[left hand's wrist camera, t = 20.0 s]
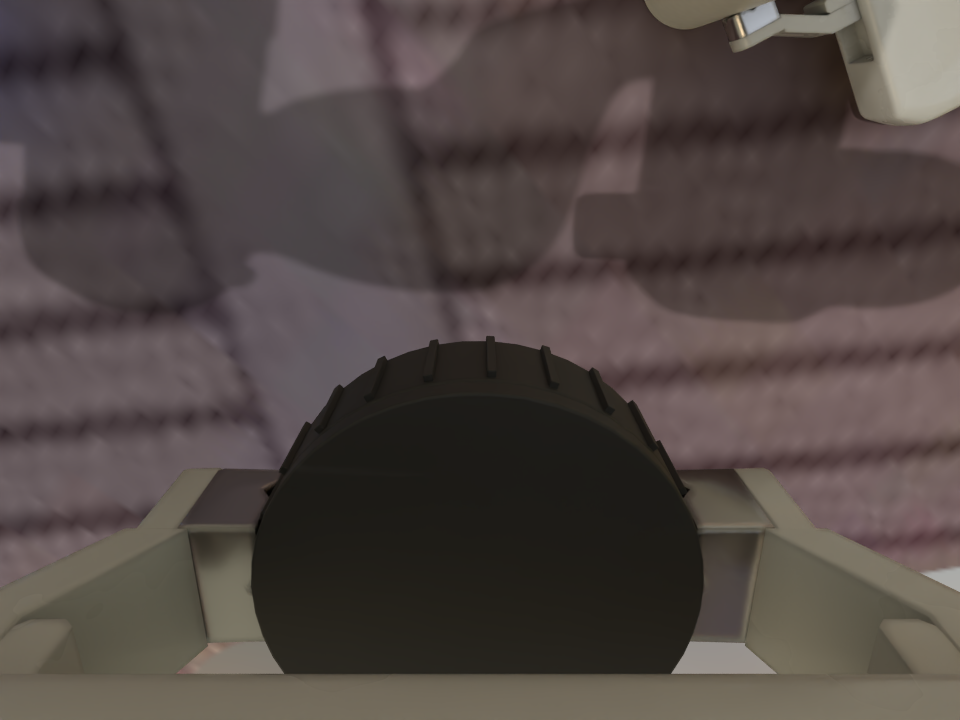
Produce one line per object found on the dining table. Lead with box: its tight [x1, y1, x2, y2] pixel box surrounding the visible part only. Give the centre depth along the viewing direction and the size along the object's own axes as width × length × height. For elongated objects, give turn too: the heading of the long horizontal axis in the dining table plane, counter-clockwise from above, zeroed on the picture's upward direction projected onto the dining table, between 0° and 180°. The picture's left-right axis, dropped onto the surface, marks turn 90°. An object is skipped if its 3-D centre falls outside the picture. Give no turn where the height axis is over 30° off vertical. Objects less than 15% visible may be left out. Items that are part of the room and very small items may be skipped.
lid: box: [251, 336, 704, 674], centre depth 9 cm, size 6×6×2 cm
